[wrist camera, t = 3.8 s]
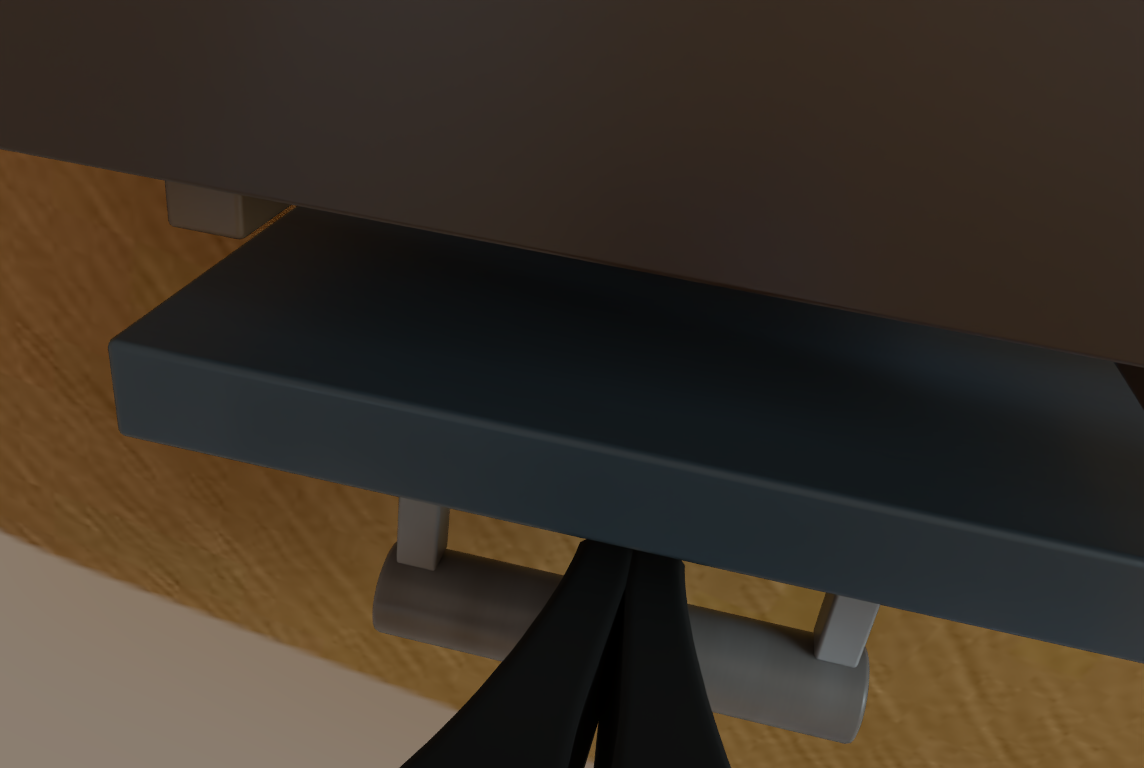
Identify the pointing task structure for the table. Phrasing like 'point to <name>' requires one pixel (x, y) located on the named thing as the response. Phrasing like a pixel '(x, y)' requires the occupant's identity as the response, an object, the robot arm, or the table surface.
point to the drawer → (654, 442)
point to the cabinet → (652, 136)
